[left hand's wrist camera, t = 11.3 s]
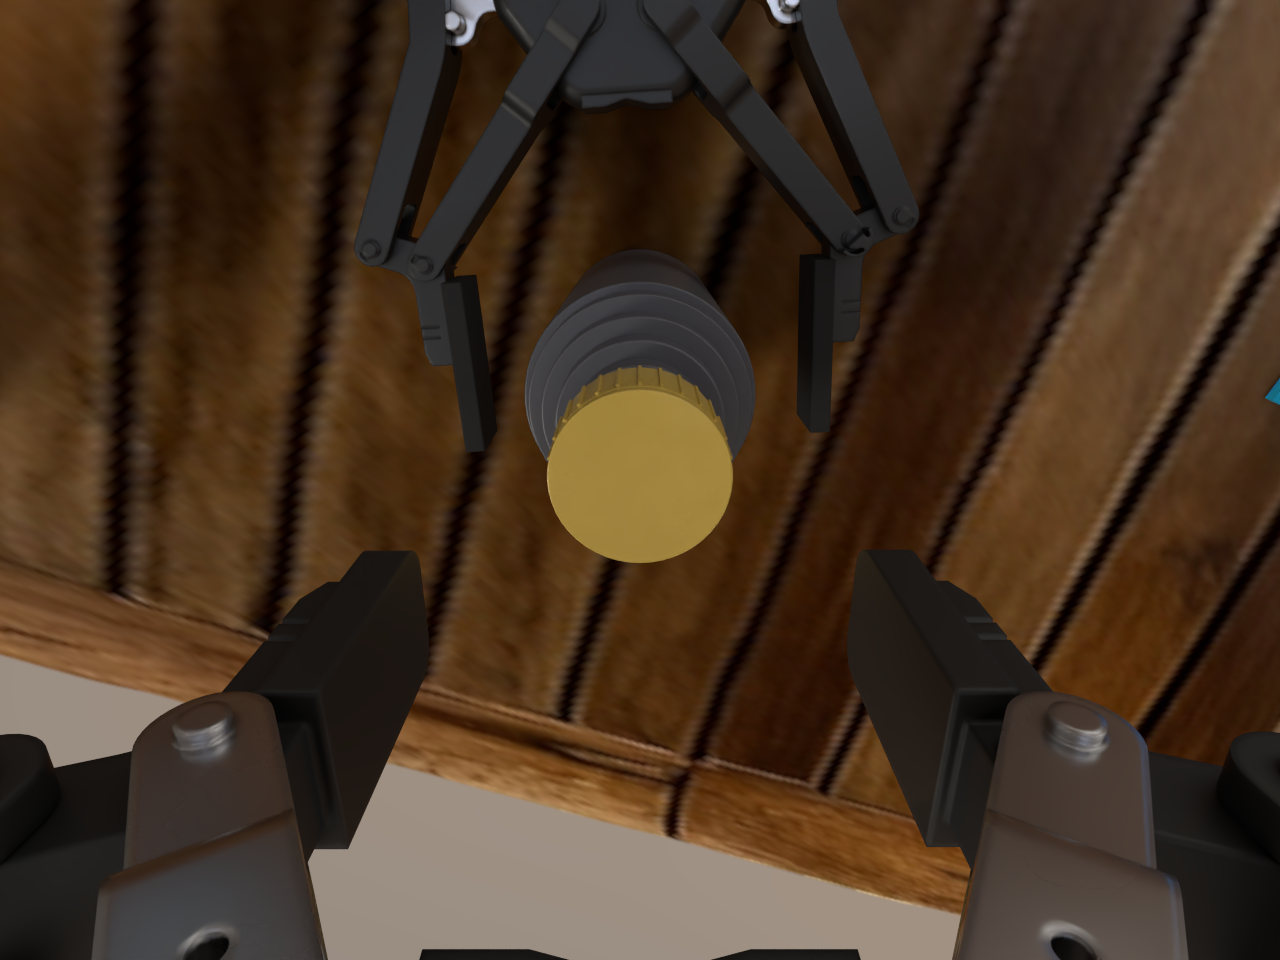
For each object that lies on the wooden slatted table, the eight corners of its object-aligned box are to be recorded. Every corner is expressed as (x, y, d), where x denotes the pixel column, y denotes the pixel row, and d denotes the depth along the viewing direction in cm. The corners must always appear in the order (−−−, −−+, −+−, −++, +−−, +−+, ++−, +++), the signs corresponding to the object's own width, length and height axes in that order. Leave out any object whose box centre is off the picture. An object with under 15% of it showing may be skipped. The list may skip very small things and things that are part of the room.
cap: (610, 552, 20) (607, 594, 18) (522, 418, 18) (506, 447, 16) (753, 477, 19) (768, 512, 17) (672, 331, 18) (676, 350, 16)
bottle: (614, 425, 37) (588, 655, 19) (536, 299, 35) (419, 419, 16) (740, 354, 36) (848, 526, 17) (668, 219, 34) (703, 250, 15)
